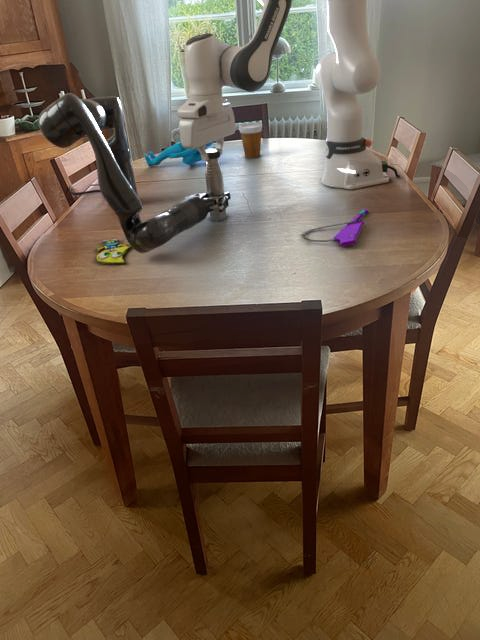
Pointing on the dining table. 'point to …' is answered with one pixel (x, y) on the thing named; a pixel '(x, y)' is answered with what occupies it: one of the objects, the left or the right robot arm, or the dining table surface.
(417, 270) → the dining table surface
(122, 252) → the toy
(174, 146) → the toy
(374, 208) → the dining table surface
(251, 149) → the beer glass
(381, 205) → the dining table surface
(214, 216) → the bottle
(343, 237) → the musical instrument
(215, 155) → the cap
